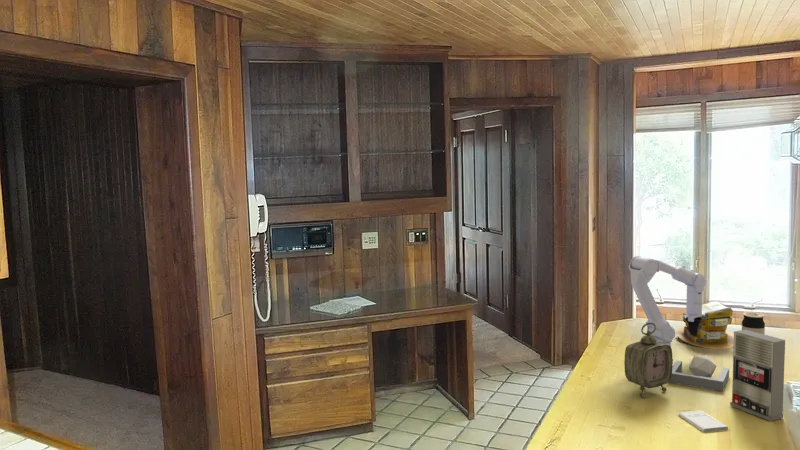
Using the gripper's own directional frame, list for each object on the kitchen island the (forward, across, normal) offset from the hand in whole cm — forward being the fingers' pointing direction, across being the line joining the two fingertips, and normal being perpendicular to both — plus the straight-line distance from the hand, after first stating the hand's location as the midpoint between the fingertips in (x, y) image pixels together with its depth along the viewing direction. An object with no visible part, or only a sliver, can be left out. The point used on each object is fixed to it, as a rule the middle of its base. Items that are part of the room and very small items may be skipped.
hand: (693, 335), depth 248 cm
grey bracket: (+9, -25, -6) cm, 27 cm away
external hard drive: (+10, -64, -13) cm, 67 cm away
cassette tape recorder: (+10, -48, -26) cm, 55 cm away
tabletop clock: (+10, -48, +7) cm, 49 cm away
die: (+10, -22, -7) cm, 25 cm away
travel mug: (+10, +11, -20) cm, 25 cm away
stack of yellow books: (+10, +28, -1) cm, 30 cm away
